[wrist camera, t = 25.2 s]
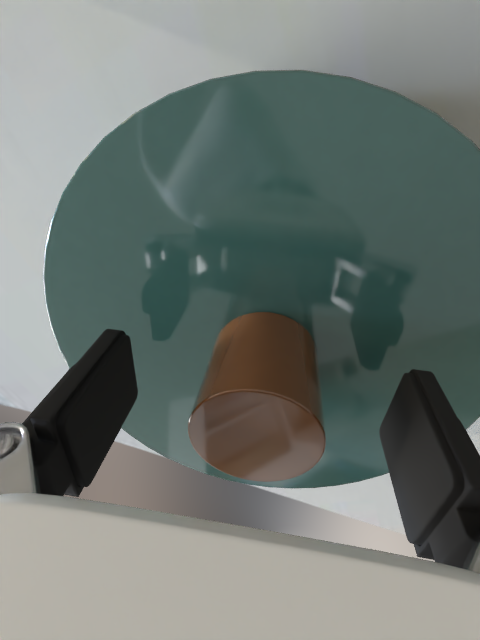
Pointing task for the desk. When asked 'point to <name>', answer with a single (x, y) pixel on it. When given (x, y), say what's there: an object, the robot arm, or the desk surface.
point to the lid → (274, 270)
